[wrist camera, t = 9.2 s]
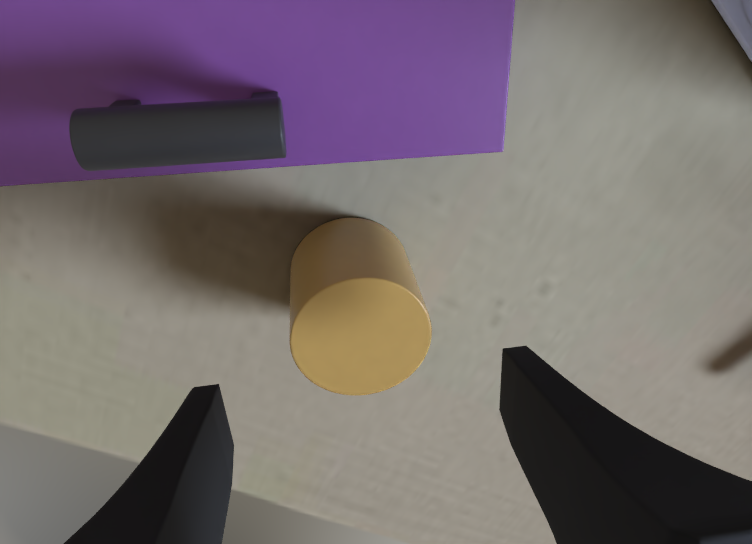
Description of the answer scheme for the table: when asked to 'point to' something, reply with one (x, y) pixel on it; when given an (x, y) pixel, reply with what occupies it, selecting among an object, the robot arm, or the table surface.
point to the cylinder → (355, 309)
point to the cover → (245, 84)
